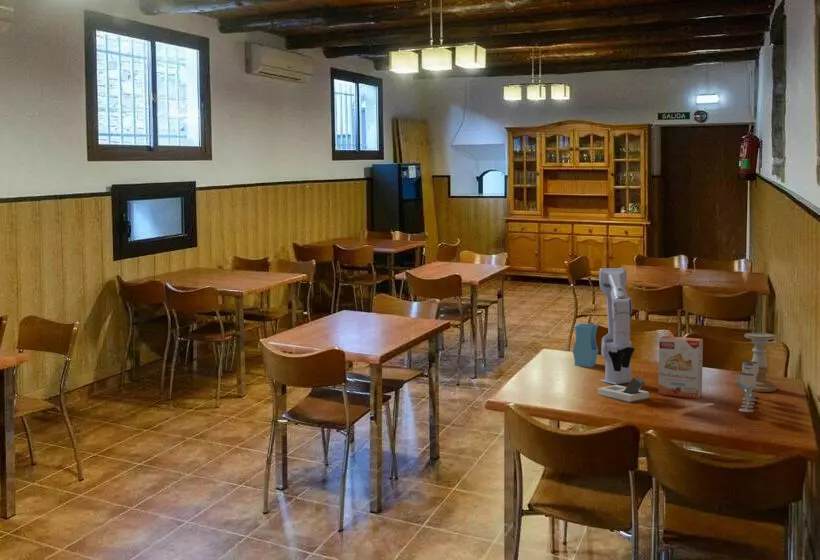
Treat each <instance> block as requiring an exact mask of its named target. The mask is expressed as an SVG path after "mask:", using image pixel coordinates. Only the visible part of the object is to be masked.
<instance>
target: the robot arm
mask: <svg viewBox="0 0 820 560" xmlns="http://www.w3.org/2000/svg"><path fill="white" fill-rule="evenodd" d="M598 271H599V273H598V281H599V288H600V289H599V290H600V292H603V293H604V295H605V299H606V315H607V330H608V333H607V334H605V335H604V336H602V338H601V345H600V347H601V348H600V349H601V352H600V353H601V357H602V358H604V359H605V365H604V367H605V368H604V369H605V371H604V373H605V375H604V376H605V377H604V379H600V382H603V383H607V384H611V385H622V384H626V383H630V382H631V380H632V378H631V377H632V366H631V359H632V357H633V354H634V352H635V348H634V347H632V346H633V345H632V343H633V342H632V341H631V315H632V311H633V304H632V299H631V297H629V296H628V292H627V290H626V283H627V278H628V277H627V275H628V274H627V270H626V267H622V268H621V267H618V268H616V267H614V268H613V267H612V268H611V267H610V268H609V267H607V268H605V267H604V268H603V267H601V268H599V270H598Z"/></svg>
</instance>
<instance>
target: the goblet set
mask: <svg viewBox="0 0 820 560" xmlns="http://www.w3.org/2000/svg"><path fill="white" fill-rule="evenodd" d="M741 369H742V372H741V373H738V376H737V379H736V382H737V386H738V387H739V388H740V389H741V390H742V392H743V394H744V395H743V396H744V397H743V398H742V400H743V401H742V404H743V405H740V406H741V408H739V409H738V411H740V412H744V413H753V412H755V411H754V409H753V408H754V406H753V405H755V402H757V400H758V399H757V398H758V395H756V394H752V392H753V391H752V389H753V388H754V387H755V386H756V376H757V374H758V370H759V367H758V363H757V362H752V360H751V361H750V360H749V361H748V360H747V361H746V360H745V361H742V366H741Z"/></svg>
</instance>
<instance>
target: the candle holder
mask: <svg viewBox="0 0 820 560" xmlns="http://www.w3.org/2000/svg"><path fill="white" fill-rule="evenodd" d="M743 336H744V338H746V339H748V340H751V342H752V343H753V344H754V347H753V348H752V349H751V351H752V352H753V354H752V355H753V356H752V359H751V361H752V362H757V363H758V367H759V370H758V374H757V376H756V386H755V387H754V388H753V389H752V391H751V392H755V393H757V392H758V393H773V392H775V391H777V390H778V386H777V385H776V384H773V382H772V381H770V380H767V378H766V374H767V373H768V372H769V370H768V369H767V368H766V367H767V366H768V361H767V358H766V353H767V352H768V350H767V348H765V346H766V344H767V343H768V341H770V340H775V339H776V335H775V334H773V333H767V332H747V333H744V335H743Z"/></svg>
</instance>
